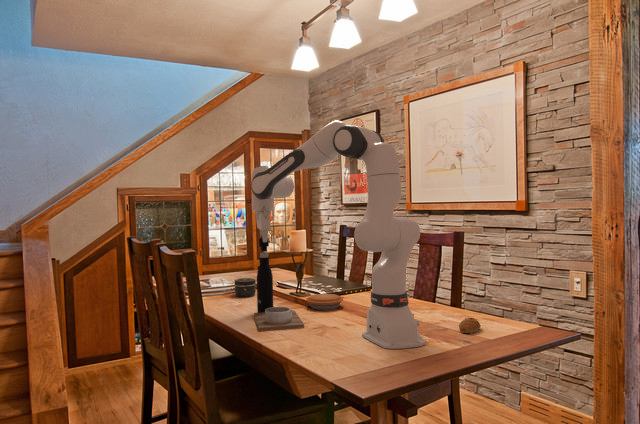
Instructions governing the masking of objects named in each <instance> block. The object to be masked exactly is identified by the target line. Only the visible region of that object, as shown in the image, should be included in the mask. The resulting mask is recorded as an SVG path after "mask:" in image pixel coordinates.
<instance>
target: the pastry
mask: <svg viewBox="0 0 640 424" xmlns="http://www.w3.org/2000/svg"><path fill="white" fill-rule="evenodd" d="M481 327H482V326H481V324H480V322H479V321H478V319H476V318H475V317H468V318H467V317H465V318H464V319H463V320H462V321H460V323H459V325H458V328H459V331H460V333H461V334H463V333H465V334H470V335H472V334H474V333H477V332H479V330H480V328H481Z"/></svg>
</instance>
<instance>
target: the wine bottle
mask: <svg viewBox="0 0 640 424" xmlns="http://www.w3.org/2000/svg"><path fill="white" fill-rule="evenodd" d="M269 239H270V238H269V237H267V242H263V238H258V247H260V254H259V266H258V268H257V272H256V297H257V298H256V300H257V301H256V307H257V311H256V313H262V312H265V310H266V309H267V308H271V307H274V281H273V278H274V277H273V276H274V275H273V272H272V268H271V266H270V257H269V252H268V247H270V244H269V241H270V240H269Z"/></svg>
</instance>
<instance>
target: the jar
mask: <svg viewBox="0 0 640 424" xmlns="http://www.w3.org/2000/svg"><path fill="white" fill-rule="evenodd" d="M256 293H257V280H256V279H255V278H251V277H249V278H248V277H246V278H245V277H244V278H238V279H234V294H235V296H236V297H237V298H252V297H254V296H255V295H256Z"/></svg>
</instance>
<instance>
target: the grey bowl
mask: <svg viewBox="0 0 640 424" xmlns="http://www.w3.org/2000/svg"><path fill="white" fill-rule="evenodd" d="M292 310H293V309H292V307H290V306H289V307H288V306H273V307H271V308H267V309H266V310H265V321H266V322H267V323H271V324H284V323H288V322H291V321H292Z"/></svg>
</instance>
